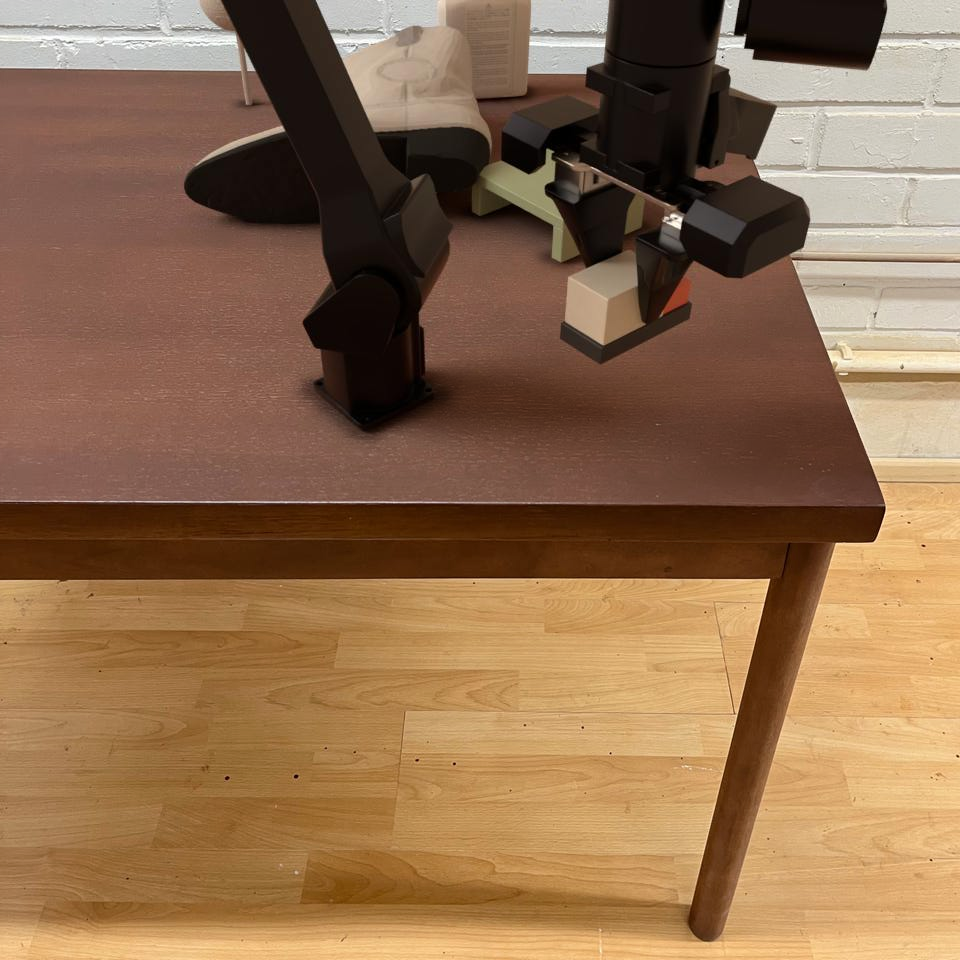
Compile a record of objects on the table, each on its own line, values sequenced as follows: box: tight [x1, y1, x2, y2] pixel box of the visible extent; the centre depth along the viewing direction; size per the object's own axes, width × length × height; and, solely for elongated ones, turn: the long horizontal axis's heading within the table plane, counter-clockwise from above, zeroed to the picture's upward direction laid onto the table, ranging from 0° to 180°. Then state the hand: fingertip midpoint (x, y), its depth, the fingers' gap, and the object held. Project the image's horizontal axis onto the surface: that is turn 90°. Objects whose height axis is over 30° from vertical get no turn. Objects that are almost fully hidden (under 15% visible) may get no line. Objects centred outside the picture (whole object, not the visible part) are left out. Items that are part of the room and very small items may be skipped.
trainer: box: [559, 249, 693, 366], centre depth 62 cm, size 8×4×4 cm, turn 130°
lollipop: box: [198, 0, 253, 106], centre depth 106 cm, size 7×7×15 cm
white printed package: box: [436, 0, 532, 100], centre depth 110 cm, size 10×4×12 cm, turn 102°
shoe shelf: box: [471, 149, 646, 263], centre depth 90 cm, size 10×12×6 cm
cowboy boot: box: [183, 25, 493, 225], centre depth 96 cm, size 10×28×25 cm
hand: (628, 308), depth 62 cm, fingers closed on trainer, 3 cm apart
